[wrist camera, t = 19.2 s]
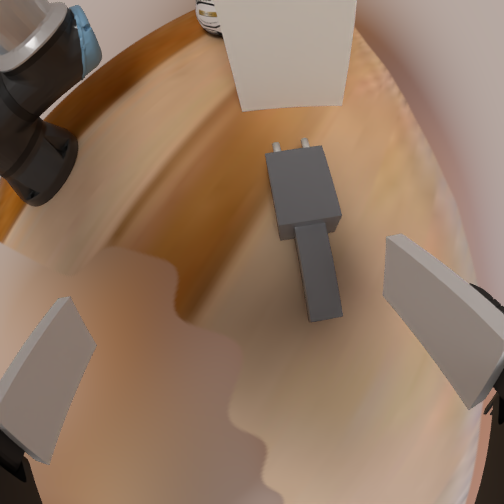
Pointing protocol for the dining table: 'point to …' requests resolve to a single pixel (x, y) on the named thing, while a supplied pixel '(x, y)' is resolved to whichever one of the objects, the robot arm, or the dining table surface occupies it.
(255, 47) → the pillar
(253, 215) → the dining table surface
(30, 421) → the robot arm
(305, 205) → the plug
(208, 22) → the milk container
